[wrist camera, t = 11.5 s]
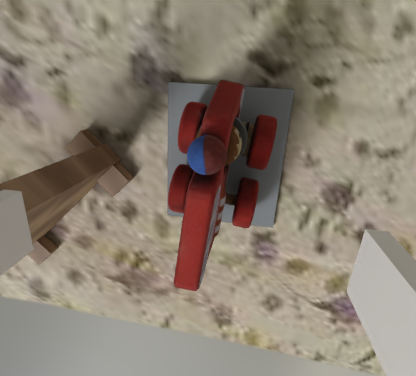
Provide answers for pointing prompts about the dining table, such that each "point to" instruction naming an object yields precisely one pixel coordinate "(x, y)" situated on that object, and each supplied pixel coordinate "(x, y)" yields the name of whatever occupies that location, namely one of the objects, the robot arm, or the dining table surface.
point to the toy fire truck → (214, 174)
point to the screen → (66, 187)
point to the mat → (268, 178)
